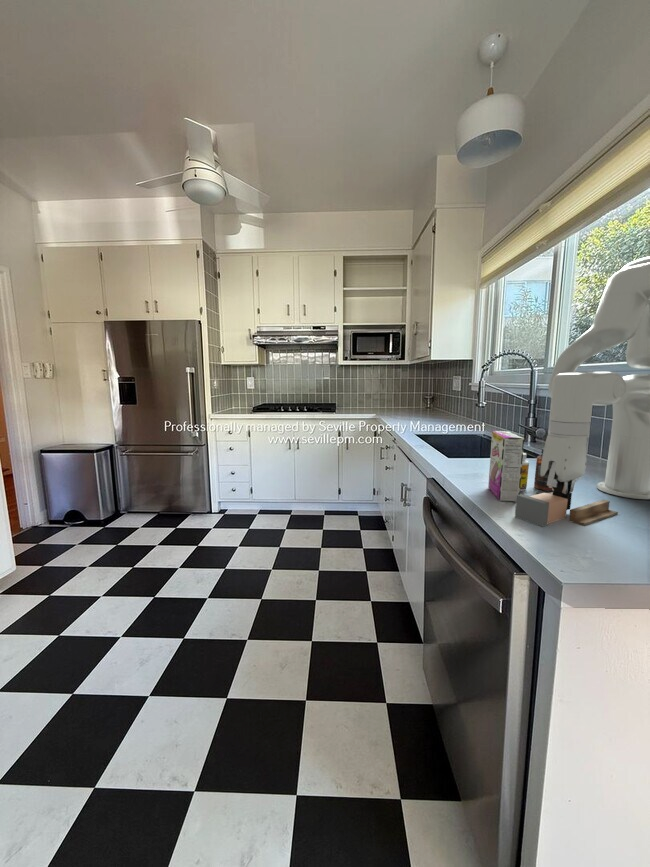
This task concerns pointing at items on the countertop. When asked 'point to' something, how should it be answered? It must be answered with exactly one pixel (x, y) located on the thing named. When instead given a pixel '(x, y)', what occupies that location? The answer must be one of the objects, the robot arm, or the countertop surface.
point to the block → (554, 506)
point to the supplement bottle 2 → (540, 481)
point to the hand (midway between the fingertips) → (560, 508)
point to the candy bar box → (505, 465)
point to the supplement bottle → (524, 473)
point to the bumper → (532, 510)
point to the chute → (590, 512)
